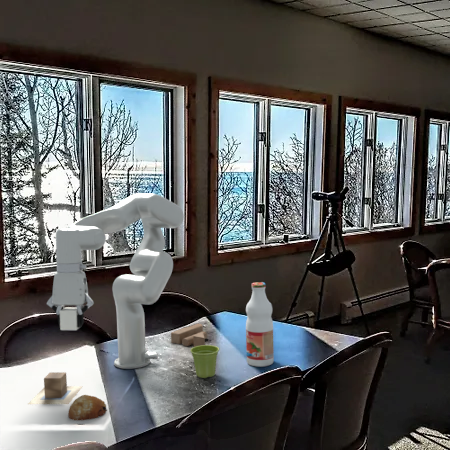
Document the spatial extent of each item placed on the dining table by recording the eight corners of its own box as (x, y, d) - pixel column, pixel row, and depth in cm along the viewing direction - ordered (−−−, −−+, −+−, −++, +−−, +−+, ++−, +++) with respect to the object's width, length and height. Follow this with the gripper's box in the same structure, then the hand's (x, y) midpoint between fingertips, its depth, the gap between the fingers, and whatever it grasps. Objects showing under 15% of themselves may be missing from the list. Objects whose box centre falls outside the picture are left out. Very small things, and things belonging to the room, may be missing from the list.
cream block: (81, 326, 182) (80, 307, 182) (76, 330, 177) (75, 310, 177) (65, 326, 183) (65, 307, 182) (60, 330, 178) (59, 310, 177)
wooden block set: (168, 330, 228) (197, 320, 242) (169, 344, 228) (197, 333, 243) (202, 336, 218) (230, 325, 232) (203, 351, 218) (230, 339, 233)
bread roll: (79, 423, 165) (66, 399, 164) (111, 406, 165) (98, 382, 164) (73, 438, 155) (59, 413, 154) (108, 420, 155) (93, 395, 155)
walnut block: (67, 391, 176) (66, 372, 175) (61, 398, 171) (60, 378, 170) (51, 391, 176) (49, 372, 175) (44, 398, 171) (43, 378, 170)
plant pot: (213, 381, 185) (212, 354, 184) (186, 378, 188) (185, 352, 187) (223, 371, 193) (223, 346, 193) (197, 369, 197) (197, 344, 196)
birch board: (83, 390, 180) (83, 386, 180) (68, 408, 166) (68, 404, 166) (45, 390, 181) (45, 386, 181) (27, 408, 167) (27, 404, 167)
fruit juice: (276, 366, 198) (275, 285, 195) (249, 368, 196) (247, 286, 194) (270, 357, 207) (268, 280, 204) (244, 359, 205) (242, 281, 203)
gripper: (100, 266, 182) (101, 323, 183) (47, 266, 183) (48, 323, 184) (92, 270, 174) (94, 329, 176) (37, 270, 176) (39, 329, 177)
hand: (70, 325), depth 180 cm, fingers closed on cream block, 5 cm apart
